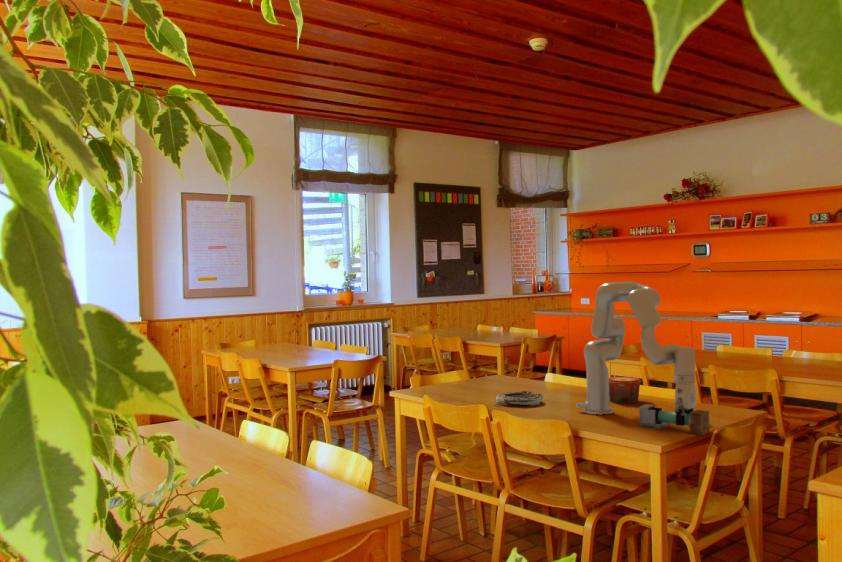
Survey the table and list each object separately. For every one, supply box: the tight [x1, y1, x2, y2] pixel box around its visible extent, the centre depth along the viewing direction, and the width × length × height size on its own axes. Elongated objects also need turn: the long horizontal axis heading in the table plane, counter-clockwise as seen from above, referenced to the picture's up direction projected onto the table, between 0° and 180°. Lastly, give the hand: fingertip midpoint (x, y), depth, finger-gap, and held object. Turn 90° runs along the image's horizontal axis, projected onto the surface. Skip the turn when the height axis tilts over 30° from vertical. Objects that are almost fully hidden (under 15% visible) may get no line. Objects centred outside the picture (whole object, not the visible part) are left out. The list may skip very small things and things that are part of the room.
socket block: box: [689, 409, 710, 436], centre depth 272 cm, size 4×8×8 cm, turn 139°
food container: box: [609, 376, 642, 404], centre depth 338 cm, size 16×16×11 cm
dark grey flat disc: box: [493, 390, 544, 407], centre depth 339 cm, size 28×27×5 cm
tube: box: [658, 410, 692, 428], centre depth 277 cm, size 16×6×6 cm, turn 49°
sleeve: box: [638, 403, 668, 430], centre depth 284 cm, size 8×7×8 cm
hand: (685, 423), depth 276 cm, fingers open, 9 cm apart
